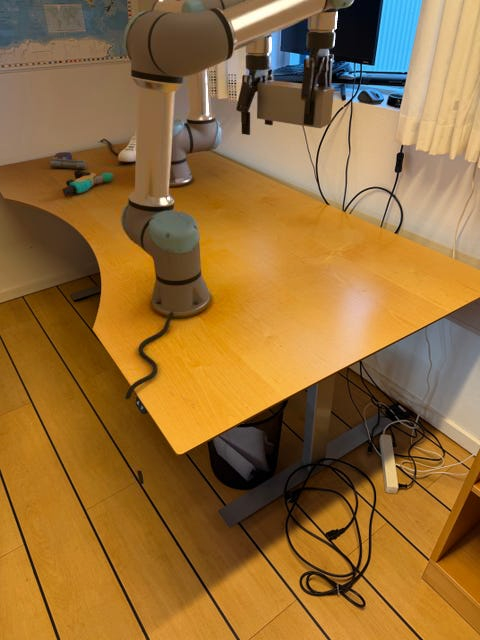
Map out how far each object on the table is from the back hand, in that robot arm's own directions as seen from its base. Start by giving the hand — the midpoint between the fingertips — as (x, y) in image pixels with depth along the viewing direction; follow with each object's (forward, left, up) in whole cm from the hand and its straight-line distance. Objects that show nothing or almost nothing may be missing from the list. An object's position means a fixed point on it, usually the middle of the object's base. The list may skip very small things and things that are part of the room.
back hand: (257, 129), depth 152 cm
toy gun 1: (-100, -19, -30) cm, 106 cm away
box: (+13, +2, +4) cm, 14 cm away
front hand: (+20, +4, +5) cm, 20 cm away
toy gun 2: (-71, -30, -30) cm, 83 cm away
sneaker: (-89, +9, -30) cm, 94 cm away
